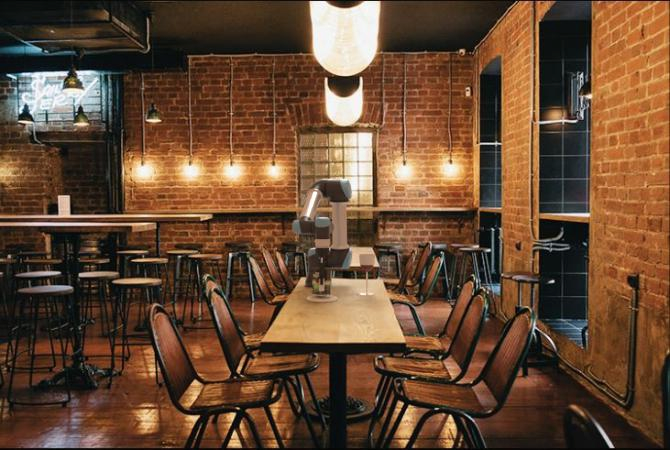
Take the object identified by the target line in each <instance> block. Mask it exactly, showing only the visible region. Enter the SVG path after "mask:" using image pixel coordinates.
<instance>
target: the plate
mask: <svg viewBox="0 0 670 450" xmlns="http://www.w3.org/2000/svg"><path fill="white" fill-rule="evenodd" d="M306 301H307V302H311V303H334V302H337V301H338V296H335V295H330V296H314V295H312V294H311V295H308V296H307V297H306Z"/></svg>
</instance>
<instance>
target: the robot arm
mask: <svg viewBox="0 0 670 450" xmlns="http://www.w3.org/2000/svg"><path fill="white" fill-rule="evenodd" d="M352 192H353V190H352V185H351V182H350V180H349V179H345V178H322V179H319V180H316V181H314V183H313V184H311V186H310V187H309V188H308V190H307V192H306V200H305V202H304V204H303V208H302V211H301V213H300V216H299V219H294V220H293V222H292V225H291V226H292V227H291V229H292V232H293V234H296V235H315V236H314V237H315V240H314V241H313V242H314V244H315V247H311V248H309V250H308V251H307V254H308V255H307V275H306V276H305V280H304V286H306V287H311V288H312V282H313V269H312V268H313V267H319V277H318V279H319V291H324V268H325V267H330V268H332V270H333V269H335V270H337V269H339V270H347V269H349V268H350V267H351V265H352V259H353V250H352V249H350V245H348V235H347V234H348V230H347V229H348V225H347V224H348V222H347V221H348V220H347V216H348V215H347V204H349V203H350V199H352V194H353V193H352ZM323 199H328V201H329V203H330V204H331V219H332V221H331V220H330V218H329V217H327V216H326V217H321V216H320V217H315V216H316V213H317V211H318V208H319V204H320V202H321V201H322V200H323ZM314 218H315V220H314ZM331 234H332V244H331V242H330V241H331V240H330V239H331V238H330V235H331Z"/></svg>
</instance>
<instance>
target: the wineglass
mask: <svg viewBox="0 0 670 450" xmlns="http://www.w3.org/2000/svg"><path fill="white" fill-rule="evenodd" d="M358 257H359V259H358V260H359V266H360V268H361V269H362V270H363V271H364V272H365V273H366V274H365V275H366V276H365V282H366V283H365V292H360V293H359V295H361V296H373V295H375V293H373V292H369V291H368V290H369V289H368V284H369V282H368V281H369V280H368V279H369V276H368V275H369V273H368V272H370V271H372V270H373V268H374V267H375V262H376V254H373V253H360V254H358Z"/></svg>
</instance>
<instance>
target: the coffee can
mask: <svg viewBox="0 0 670 450" xmlns="http://www.w3.org/2000/svg"><path fill="white" fill-rule="evenodd" d="M312 269H313V282H312V287H311V288H312V289H311V290H312V291H311V292H312V293H311V296H312V295H314V296H330V295H331V296H333V295H332V285H333V284H332V283H333V282H332V281H333V279H332V276H333V275H332V274H333V273H332V271H333V269H332V268H330V267H325V268H324V291H319V279H318V277H319V267H313V268H312Z"/></svg>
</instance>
